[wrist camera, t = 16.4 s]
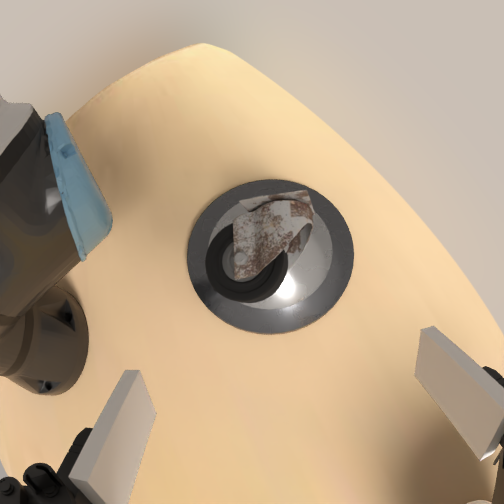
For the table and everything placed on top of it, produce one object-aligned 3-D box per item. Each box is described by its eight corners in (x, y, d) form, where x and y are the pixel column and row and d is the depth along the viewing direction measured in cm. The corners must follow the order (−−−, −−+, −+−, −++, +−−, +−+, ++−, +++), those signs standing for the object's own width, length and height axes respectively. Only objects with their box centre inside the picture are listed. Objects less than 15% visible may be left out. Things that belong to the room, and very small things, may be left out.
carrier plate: (167, 308, 34) (164, 306, 32) (218, 174, 40) (217, 168, 39) (335, 352, 30) (336, 351, 29) (360, 200, 37) (362, 195, 36)
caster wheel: (222, 307, 34) (221, 223, 37) (323, 299, 31) (314, 210, 34) (194, 301, 28) (195, 203, 31) (316, 292, 25) (306, 184, 28)
